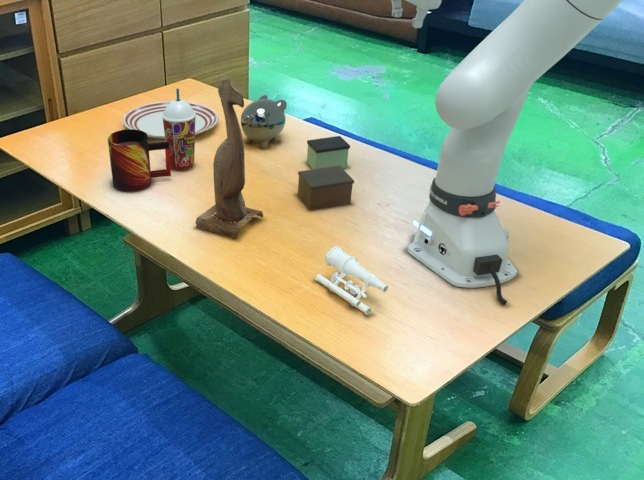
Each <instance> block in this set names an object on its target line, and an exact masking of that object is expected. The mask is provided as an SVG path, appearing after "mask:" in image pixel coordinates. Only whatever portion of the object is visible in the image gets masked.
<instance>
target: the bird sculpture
mask: <svg viewBox="0 0 644 480" xmlns="http://www.w3.org/2000/svg"><path fill="white" fill-rule="evenodd" d="M217 92H218V93H217V94H218V95H219V98H220V103H221V107H222V112H223V115H224V119H225V127H226V129H225V130H226V138H225V139H224V140H223V141H222V142H221V144H220V145H219V146H218V147H217V149H216V151H215V155H214V159H213V165H212V166H213V190H214V191H213V192H214V202H215V203H214V205H212V206H211V207H209V208H208V209H207V210H206V211H205V212H202V214H200V215H198V216H197V217H196V219H195V226H196V227H195V228H196V229H197V228H199V229H202V230H205V231H209V232H210V231H211V233H215V234H217V235H222V236H227V237H231V238H234V239H238V236H239V234H240V231H241V230H242V228H243V227H244V226H245V225H246V224H247V223H249V222H250V221H251V220H252V219H253V217H254V218H255V217H256V216H257V217H260V218H264V212H263V210H259V209H255V208H250V207H247V206H246V202H245V199H244V196H243V193H242V191H243V189H244V188H245V185H246V165H245V163H246V162H245V146H244V145H245V143H244V138H243V133H242V128H241V124H240V122H239V118H238V115H237V112H236V110H235V108H234V106H239V107H240V108H241V109H243V108H244V107H245V100H244V96H243V94H242V93H241V92H240V91H239V90H237V89H236V88H235V87H234V85H233V82H232V80H231V79H230V77H223V78H221V80H220V81H219V83H218V87H217Z"/></svg>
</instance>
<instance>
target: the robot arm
mask: <svg viewBox="0 0 644 480" xmlns="http://www.w3.org/2000/svg"><path fill="white" fill-rule="evenodd" d="M390 1H391V7H392V10H391V16H392V17H394V18H401V17H402V15H403V10H404V9H403V7H402V0H390ZM404 1H406V2H407V3H409V4H412V5H414V6H416V10H415V11H416V14H415V16H414V17H413V18H412V20H411V21H412V23H411V27H413V28H414V29H421V28H422V27H423V24H424V20H425V18H426V16H427V15H428V13H429V10H436V9H438V8H440V6H441V5H442V0H404ZM622 2H623V0H523V1H522V2H521V3H520V4H519V5H518V6H517V8H516V9H515V10H513V12H511V14H509V15H508V16H507V17H506V18H505V19H504V20H503V21H501V23H500V24H498V25H497V26H496V27H495V28H494V29H493V30H492V31H491V32H490V33H489V34H488V35H486V37H485V38H484V39H483V40H482V41H480V43H479V44H478V45H476V46H475V47H474V49H472V50H471V51H470V52H469V53H468V54H467V56H466V57H464V58H463V59H462V60H461V62H459V63H458V64H457V65H456V66H455V67H454V68H453V70H451V71H450V72H449V74H448V75H447V76H446V77H445V78H444V80H443V81H442V83H440V85H439V87H438V89H437V91H436V93H435V99H434V101H435V102H434V104H435V110H436V112H437V115H438V117H439V119H440V120H441V121H442V122H443V123H444V124H446V125H447V127H449V128H450V129H449V130H448V132H447V134H446V136H445V137H444V139H443V142H442V145H441V150H440V152H439V153H440V154H439V159H438V164H437V169H436V174H435V176H434V177H433V179H432V182H431V184H430V188H429V195H428V199H429V201H428V203H427V205H426V207H425V209H424V211H423V212H422V214H421V215H420V218H419V222H418V221H417V220H413V225H414V227H416V232H415V234H414V238H413V241H412V242H411V243H410V244H409V245H408V246H407V249H406V252H407V253H408V254H409V255H411V256H412V257H414V258H415V259H416V260H417V261H419V262H420V263H421V264H423V265H425V266H426V267H427V268H429V269H430V270H431V271H433V272H434V273H435V274H436V275H438V276H439V277H441V278H442V279H444V280H445V281H446V282H448V283H449V284H450V285H452V286H454V287H458V288H467V289H468V288H470V289H473V288H486V287H492V286H495V288H496V297H497V300H498V301H499V303H501V304H502V305H507V304H508V303H507V300H506V299H504V297H503V295H502V284H504V283H507V282H509V281H511V280H513V279H514V278H515V277H516V276H517V274H518V270H517V268H516V267H515V266H514V264H513V263H512V261H511V260H510V259H509V250H510V245H509V241H508V240H509V238H510V234H509V231H508V230H507V229H503V227H502V225H501V222H500V220H499V218H498V215H497V214H496V213H497V212H496V208H497V207H500V205H499V204H500V203H501V201H500V200H498V201H497V192H496V190H497V187H496V181H497V177H498V174H499V171H500V167H501V164H502V159H503V156H504V153H505V150H506V147H507V145H508V142H509V140H510V137H511V135H512V133H513V130H514V128H515V126H516V124H517V121H518V119H519V117H520V114H521V112H522V110H523V107H524V105H525V102H526V99H527V95H528V94H529V91H530V89H531V88H532V86H533V84H534V83H535V82H536V81H537V80H539V78H540V77H542V76H543V75H544V74H545V73H546V72H547V71H548V70H550V69H552V67H553V66H555V65H556V64H557V63H558V62H559V61H560V60H561V59H563V58H564V57H565V56H566V55H567V54H569V52H570V51H571V50H572V49H573V48H574V47H575V46H577V44H579V43H580V42H581V41H582V40H583V39H584V38H585V37H586V36H587V35H588V34H589V33H591V32H592V31H593V30H594V29H595V28H596V27H597V26H598V25H599V24H600V23H601V22H602V21H604V20H605V18H607V17H608V15H610V14H611V13H612V12H613V11H614V10H615V9H616V8H617V7H618V6H619V5H620V4H621V3H622Z"/></svg>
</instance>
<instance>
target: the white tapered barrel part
mask: <svg viewBox="0 0 644 480" xmlns="http://www.w3.org/2000/svg"><path fill="white" fill-rule="evenodd" d="M324 262H325V264H326V265H327V266H329V267H332V268H334V269H336V270H338V271H335V272H333V274H332V276H331V279H330V280H329V279H328V278H326V277H325V276H323V274H321V273H317V274H316V276H315V278H314V281H315V282H318V283H320V284H321V285H323V287H326V288H327V289H328V290H329V291H330V292H331V293H335V295H338V296H339V297H341V298H342V299H344V300H345V301H346V302H348V303H349V304H350V305H351V306H352V307H355V308H357V309H358V310H360V311H361V312H362V313H363V314H365V315H366V316H368V315H371V314H372V311H373V308H372V307H371V306H369V305H367V304H365V303H363V302H362V301H361V300H360V299H361V298H362V297H363V298H364V299H366V298H368V295H367V294H366V293H365V292H366V291H367V289H368V288H369V287H370V286H371V287H374V288H376V289H378V290H380V291H381V292H383V293H386V292H387V291H388V290H389V285H387V284H385V283H384V282H382V281H381V279H379V278H378V277H377V275H376V274H375V273H372V272H370V270H368V269H367V268H364V267H363V265H361V263H359V262H358V259H357V257H356V256H353V255H352V256H351V255H350V254H349V253H347V252H345V251H344V250H343V249H342V248H341V247H340V246H337V245H336V246H334V247H333V246H332V247H331V248H330V249H329V250H328V251H327V253H326V254H325V259H324ZM345 276H346V277H347V276H351V277H353V278H356V279H358V280H359V281H361V282H363V283H365V284H364V285H363V287H362V288H361V286H360V285H359V284H356V283H355V284H354V281H353V280H351V279H350V280H347V281H346V280H345V279H344V278H345ZM340 283H341V284H343V285H344V287H343V289H342V288H341V287H339V285H340ZM347 291H350V292H349V293H348V292H347ZM355 295H357V296H356V297H354V296H355Z"/></svg>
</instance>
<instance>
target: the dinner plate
mask: <svg viewBox="0 0 644 480" xmlns="http://www.w3.org/2000/svg"><path fill="white" fill-rule="evenodd" d="M171 101H172V100H171ZM171 101H170V100H168V101H167V100H165V101H156V102H149V103H146V104H142V105H139V106H137V107H134V108H131V109H130V110H129V111H127V112H126V113H125V114H124V115H123V118H122V123H123V125H124V126H125V127H126V128H127V129H134V130H141V131H143V132H145V133H147V135H148V138H152V139H159V140H165V133H164V126H163V118H162V114H163V113H164V110H165V108H166V106H167V105H168V104H169V103H170V102H171ZM187 102H188V103H189V104H190V105H191V106H192V108H193V110H194V112H195V113H196V116H195V136H196V135H199V134H201V133H204V132H206V131H208V130H210V129H212V128H214V127H215V126H216V125H217V124H218V122H219V115H218V113H217V112H216V111H215V110H214V109H212V107H211V108H210V107H209V106H206V105H203V104H200V103H196V102H192V101H191V102H190V101H187Z"/></svg>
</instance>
